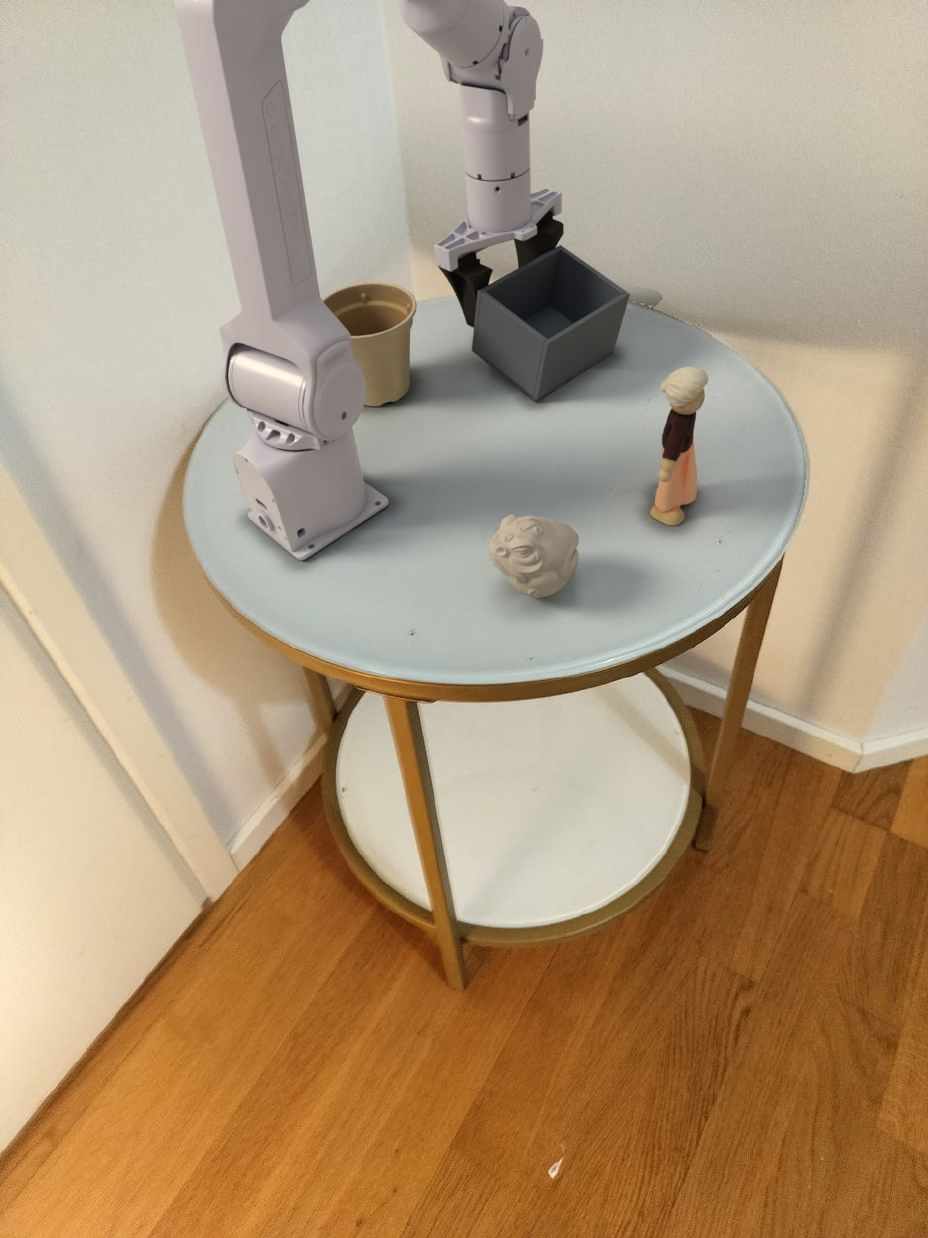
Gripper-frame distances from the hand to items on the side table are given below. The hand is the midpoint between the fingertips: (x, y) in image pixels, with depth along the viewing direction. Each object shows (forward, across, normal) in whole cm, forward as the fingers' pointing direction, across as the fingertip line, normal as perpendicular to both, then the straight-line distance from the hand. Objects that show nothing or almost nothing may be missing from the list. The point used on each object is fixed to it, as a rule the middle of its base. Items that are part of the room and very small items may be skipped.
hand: (503, 310), depth 86 cm
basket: (+2, 0, -4) cm, 5 cm away
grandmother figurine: (+4, -8, -28) cm, 29 cm away
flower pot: (+4, -14, +4) cm, 15 cm away
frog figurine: (+4, -22, -26) cm, 35 cm away
